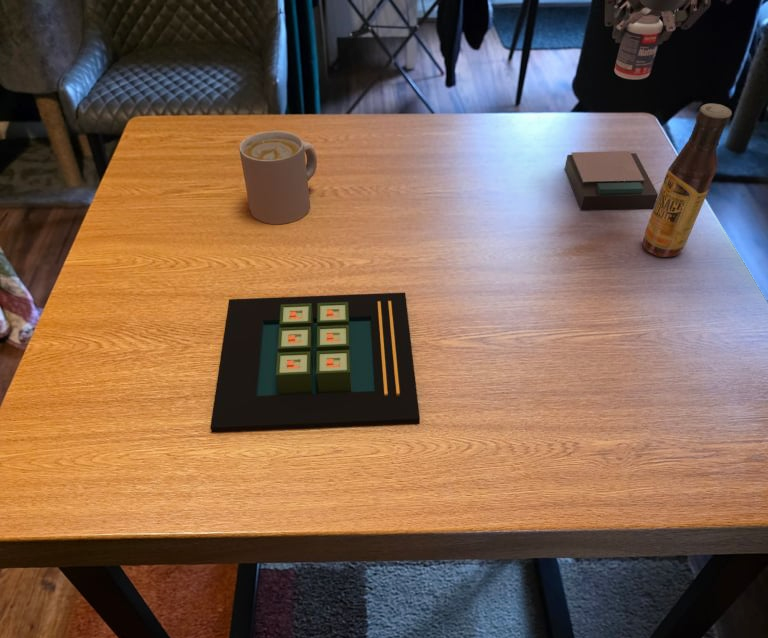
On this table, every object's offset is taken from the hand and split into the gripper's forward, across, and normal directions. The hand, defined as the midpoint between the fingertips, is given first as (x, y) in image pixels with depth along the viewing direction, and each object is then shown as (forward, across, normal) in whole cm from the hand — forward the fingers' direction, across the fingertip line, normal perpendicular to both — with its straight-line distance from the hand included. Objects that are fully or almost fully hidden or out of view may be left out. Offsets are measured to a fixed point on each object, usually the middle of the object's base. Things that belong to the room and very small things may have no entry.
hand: (638, 36), depth 97 cm
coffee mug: (+4, +52, +26) cm, 58 cm away
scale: (+13, -1, +17) cm, 21 cm away
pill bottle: (+2, 0, +4) cm, 5 cm away
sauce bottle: (+1, -8, +30) cm, 31 cm away
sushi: (-22, +39, +52) cm, 69 cm away
